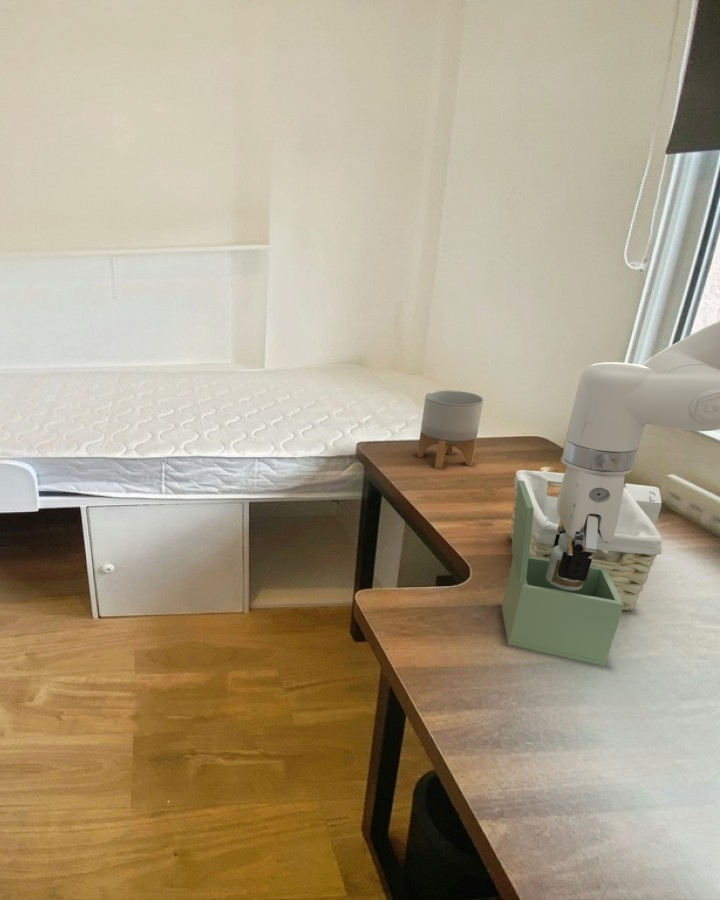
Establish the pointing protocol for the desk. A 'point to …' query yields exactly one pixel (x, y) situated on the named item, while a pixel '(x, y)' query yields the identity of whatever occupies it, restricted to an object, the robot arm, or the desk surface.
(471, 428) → the planter
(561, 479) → the basket
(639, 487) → the ink box
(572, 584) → the pill bottle
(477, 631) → the desk surface
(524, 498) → the lid
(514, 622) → the chest
